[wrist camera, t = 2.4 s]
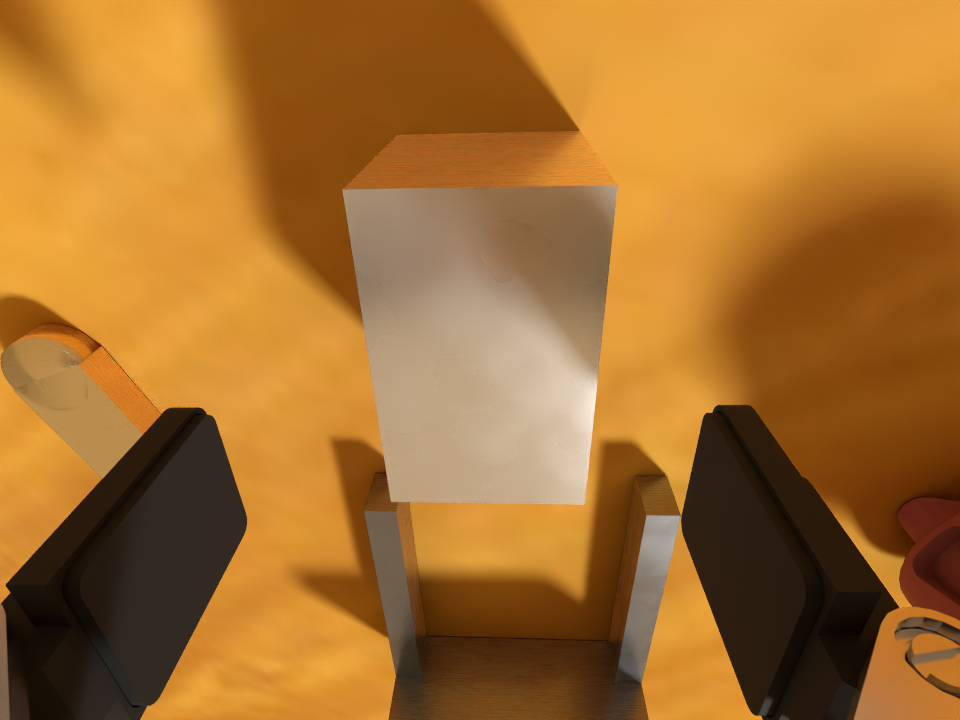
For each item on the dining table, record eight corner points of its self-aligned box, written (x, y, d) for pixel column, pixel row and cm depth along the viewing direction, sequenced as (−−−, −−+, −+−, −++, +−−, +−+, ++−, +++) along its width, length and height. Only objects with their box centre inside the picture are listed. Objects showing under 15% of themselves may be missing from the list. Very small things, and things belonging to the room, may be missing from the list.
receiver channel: (375, 472, 22) (334, 611, 17) (666, 476, 21) (717, 620, 16) (405, 649, 28) (382, 788, 23) (630, 655, 28) (657, 799, 22)
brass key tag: (7, 339, 19) (-21, 357, 18) (72, 312, 18) (47, 329, 17) (147, 484, 23) (130, 506, 22) (206, 466, 22) (191, 488, 21)
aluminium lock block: (398, 133, 15) (342, 189, 10) (579, 130, 15) (617, 184, 10) (423, 392, 20) (393, 520, 15) (562, 392, 19) (582, 523, 14)
